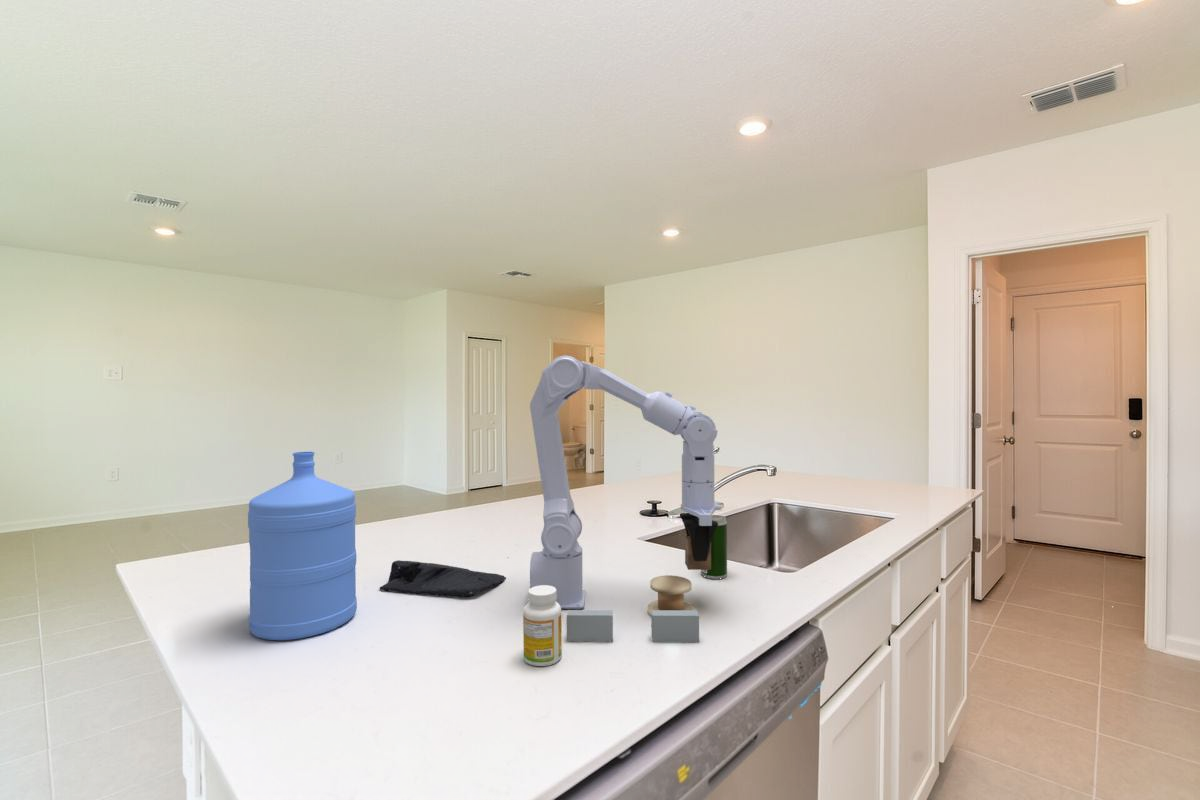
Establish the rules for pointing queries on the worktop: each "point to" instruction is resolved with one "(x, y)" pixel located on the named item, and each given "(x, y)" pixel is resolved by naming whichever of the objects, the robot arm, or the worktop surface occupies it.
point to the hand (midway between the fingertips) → (698, 556)
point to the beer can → (718, 550)
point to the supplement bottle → (542, 627)
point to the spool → (670, 593)
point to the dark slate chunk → (438, 579)
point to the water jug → (302, 556)
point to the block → (690, 560)
